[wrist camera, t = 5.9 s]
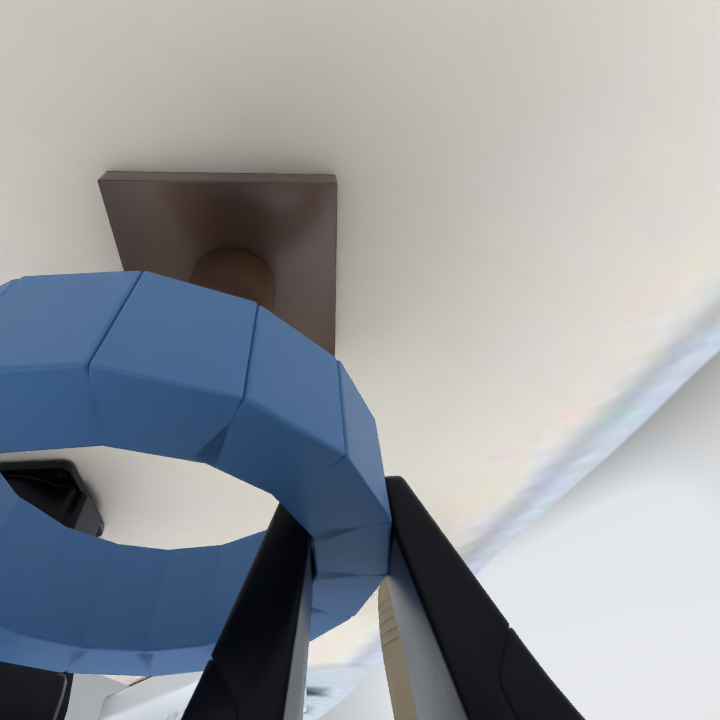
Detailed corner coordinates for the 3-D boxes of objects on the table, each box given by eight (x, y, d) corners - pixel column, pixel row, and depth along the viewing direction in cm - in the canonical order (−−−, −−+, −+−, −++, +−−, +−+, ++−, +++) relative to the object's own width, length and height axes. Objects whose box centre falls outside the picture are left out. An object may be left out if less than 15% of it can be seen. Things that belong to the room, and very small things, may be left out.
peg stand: (157, 353, 21) (107, 479, 16) (106, 170, 16) (8, 261, 11) (333, 349, 22) (344, 467, 17) (335, 174, 17) (353, 259, 12)
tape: (33, 590, 13) (-15, 695, 11) (-241, 287, 7) (-445, 397, 5) (373, 558, 13) (385, 652, 11) (378, 256, 8) (403, 343, 6)
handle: (344, 567, 35) (366, 863, 23) (417, 532, 33) (483, 836, 21) (381, 589, 37) (418, 864, 25) (450, 557, 35) (525, 840, 23)
